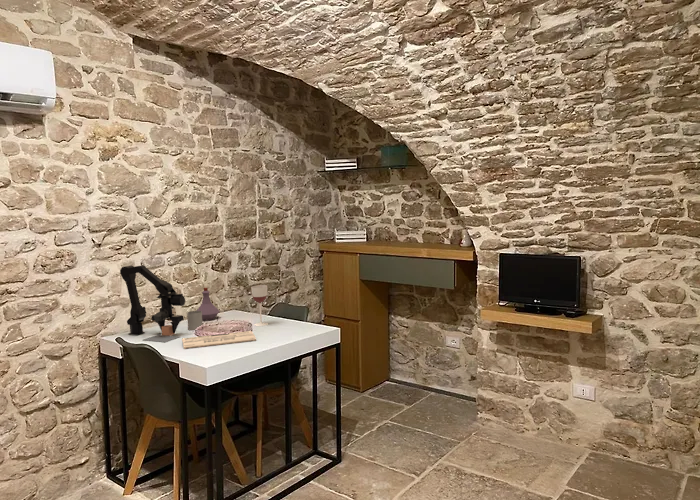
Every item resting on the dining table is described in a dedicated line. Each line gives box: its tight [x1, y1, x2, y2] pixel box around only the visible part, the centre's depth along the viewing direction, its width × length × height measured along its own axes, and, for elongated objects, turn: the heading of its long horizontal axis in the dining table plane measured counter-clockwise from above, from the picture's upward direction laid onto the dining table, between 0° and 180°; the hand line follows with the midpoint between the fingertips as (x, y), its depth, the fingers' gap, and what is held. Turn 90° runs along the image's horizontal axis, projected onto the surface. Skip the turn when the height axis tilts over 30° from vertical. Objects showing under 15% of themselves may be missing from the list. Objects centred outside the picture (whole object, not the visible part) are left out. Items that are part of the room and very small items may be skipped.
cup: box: [186, 310, 204, 331], centre depth 326 cm, size 8×8×10 cm
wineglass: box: [250, 284, 269, 327], centre depth 331 cm, size 9×10×23 cm
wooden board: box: [181, 330, 257, 350], centre depth 294 cm, size 37×19×3 cm, turn 109°
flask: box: [196, 287, 221, 321], centre depth 352 cm, size 16×16×20 cm
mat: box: [142, 334, 180, 343], centre depth 305 cm, size 16×12×1 cm
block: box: [161, 324, 176, 336], centre depth 314 cm, size 5×5×5 cm
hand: (168, 332), depth 314 cm, fingers open, 8 cm apart
